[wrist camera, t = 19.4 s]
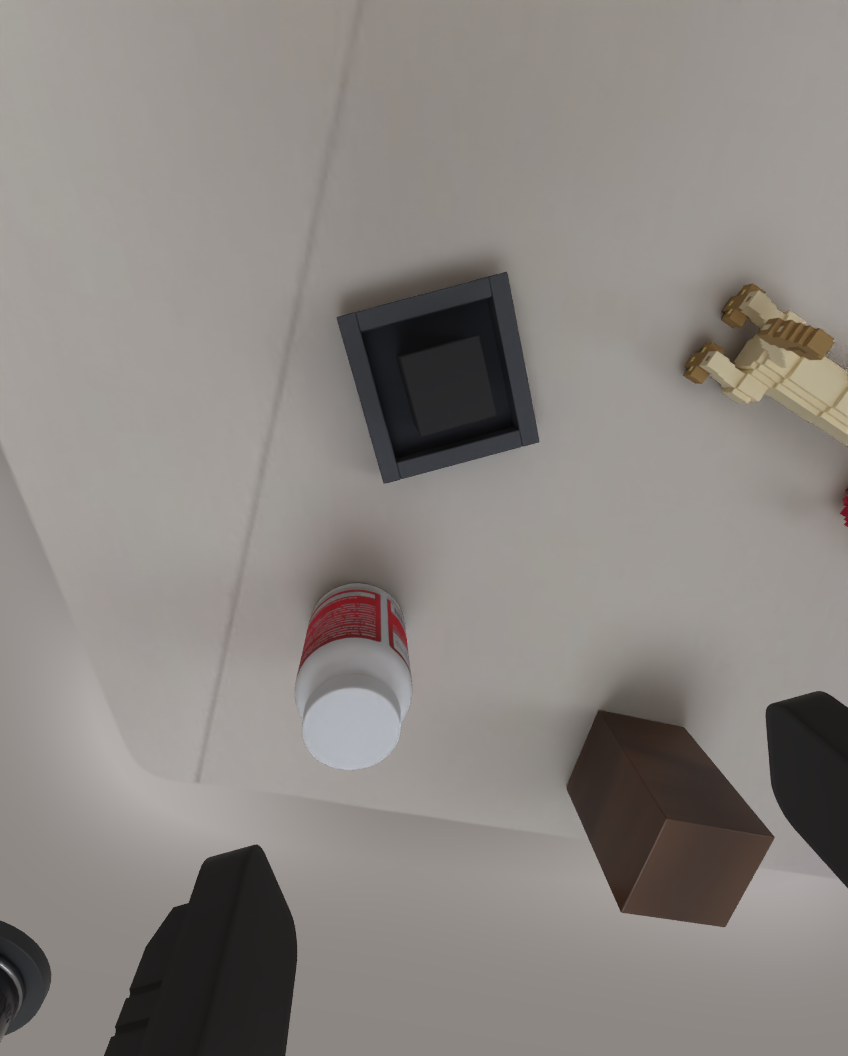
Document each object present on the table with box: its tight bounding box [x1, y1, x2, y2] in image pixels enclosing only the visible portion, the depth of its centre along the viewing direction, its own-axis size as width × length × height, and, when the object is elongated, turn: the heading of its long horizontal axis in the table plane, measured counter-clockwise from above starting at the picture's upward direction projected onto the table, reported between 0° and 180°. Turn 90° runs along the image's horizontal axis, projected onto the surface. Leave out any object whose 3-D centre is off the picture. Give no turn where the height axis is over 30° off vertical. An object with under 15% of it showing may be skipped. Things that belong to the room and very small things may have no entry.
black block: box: [397, 335, 496, 436], centre depth 30 cm, size 4×4×4 cm
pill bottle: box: [295, 583, 412, 770], centre depth 32 cm, size 6×6×11 cm
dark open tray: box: [337, 272, 539, 484], centre depth 32 cm, size 9×9×2 cm
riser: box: [567, 711, 775, 927], centre depth 37 cm, size 7×7×10 cm
